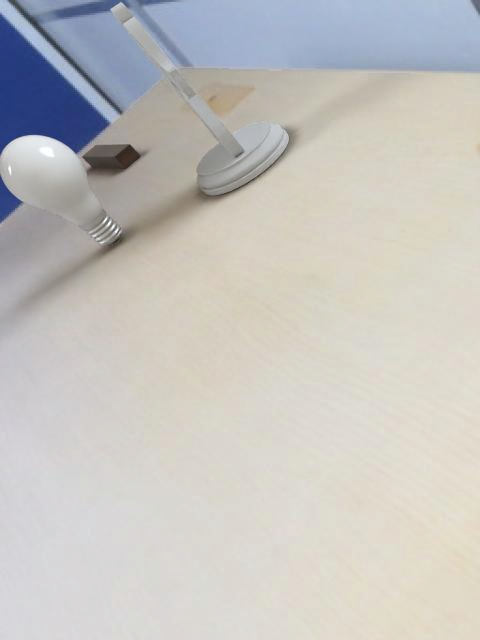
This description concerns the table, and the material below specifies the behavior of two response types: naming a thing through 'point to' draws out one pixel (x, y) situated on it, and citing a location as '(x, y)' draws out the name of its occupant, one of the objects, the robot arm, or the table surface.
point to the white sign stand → (214, 125)
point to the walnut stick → (111, 156)
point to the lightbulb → (56, 185)
